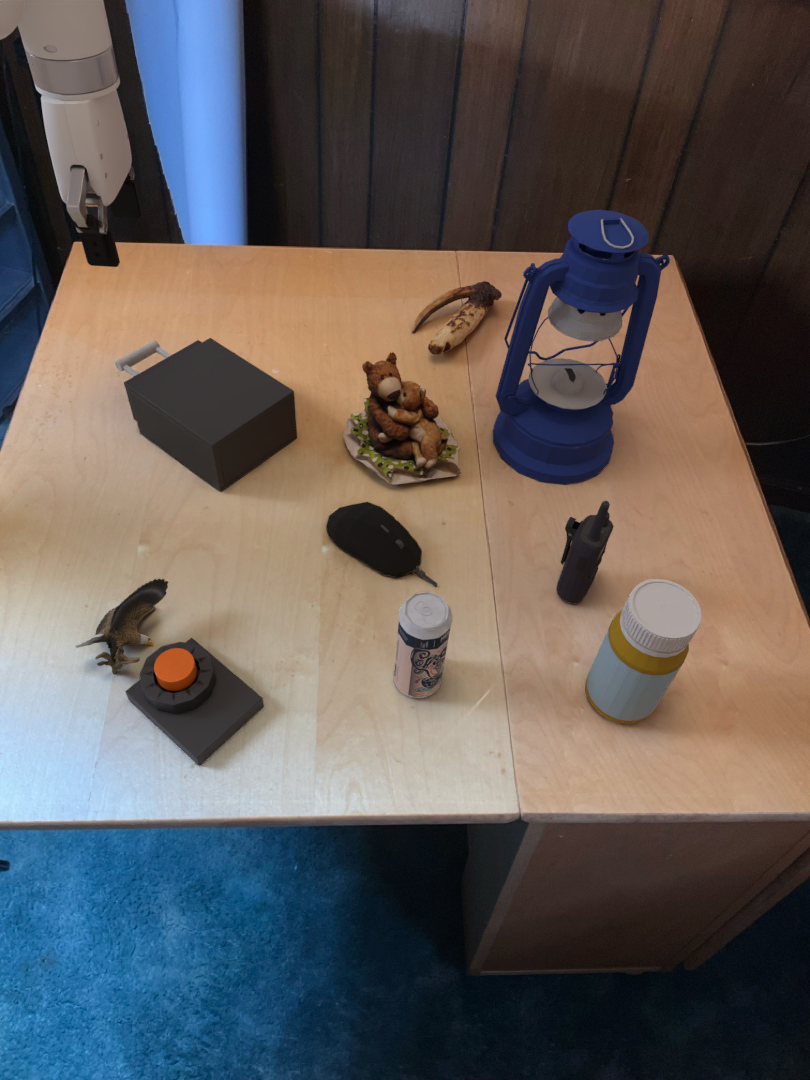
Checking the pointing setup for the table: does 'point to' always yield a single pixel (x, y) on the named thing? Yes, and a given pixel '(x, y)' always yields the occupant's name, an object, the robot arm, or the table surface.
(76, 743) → the table surface
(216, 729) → the control block
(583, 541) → the two-way radio
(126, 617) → the eagle figurine
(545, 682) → the table surface
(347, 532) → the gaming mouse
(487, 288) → the lashed bone hook
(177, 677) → the button
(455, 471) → the bear figurine
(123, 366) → the open drawer
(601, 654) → the bottle
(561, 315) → the lantern
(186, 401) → the black drawer box
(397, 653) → the beer can
